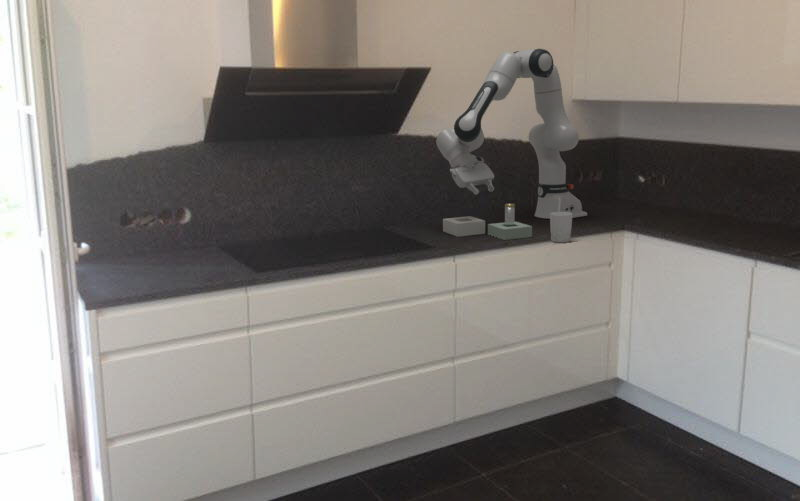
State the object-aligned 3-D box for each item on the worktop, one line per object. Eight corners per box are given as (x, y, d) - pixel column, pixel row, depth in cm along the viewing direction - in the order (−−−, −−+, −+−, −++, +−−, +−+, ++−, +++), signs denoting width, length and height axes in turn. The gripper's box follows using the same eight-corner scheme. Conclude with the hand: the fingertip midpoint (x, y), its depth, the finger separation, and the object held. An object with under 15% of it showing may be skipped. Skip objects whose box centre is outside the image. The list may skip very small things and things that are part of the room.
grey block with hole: (470, 228, 296) (470, 216, 295) (485, 233, 285) (485, 220, 284) (443, 231, 291) (442, 218, 290) (457, 236, 281) (457, 223, 279)
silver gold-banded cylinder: (511, 234, 282) (511, 203, 280) (516, 236, 279) (516, 204, 277) (502, 235, 281) (503, 203, 278) (507, 237, 278) (508, 205, 275)
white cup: (553, 238, 274) (554, 211, 272) (574, 239, 270) (575, 212, 268) (546, 242, 268) (546, 214, 265) (567, 243, 264) (568, 216, 261)
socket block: (514, 231, 288) (515, 221, 287) (532, 236, 277) (532, 226, 276) (487, 234, 283) (487, 224, 282) (503, 240, 272) (504, 229, 272)
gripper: (452, 161, 279) (473, 189, 275) (484, 157, 294) (505, 183, 289) (443, 173, 283) (463, 200, 279) (475, 167, 298) (495, 194, 293)
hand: (485, 192), depth 284 cm, fingers open, 8 cm apart
